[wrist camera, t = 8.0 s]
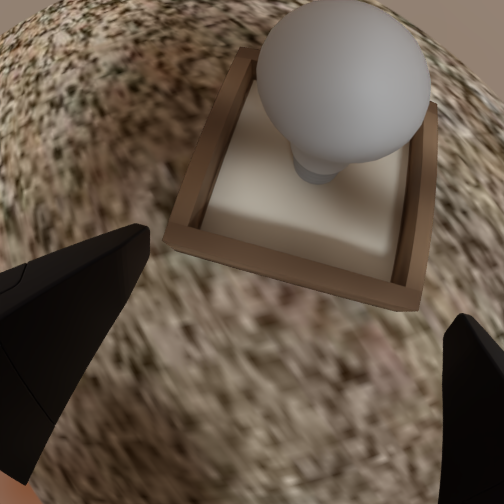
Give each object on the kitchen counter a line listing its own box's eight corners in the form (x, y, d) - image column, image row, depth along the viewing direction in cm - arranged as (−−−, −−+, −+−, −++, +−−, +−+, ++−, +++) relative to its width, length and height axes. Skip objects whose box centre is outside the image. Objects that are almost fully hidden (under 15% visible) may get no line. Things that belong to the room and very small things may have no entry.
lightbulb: (269, 229, 17) (277, 104, 6) (252, 130, 18) (240, -30, 7) (377, 214, 17) (493, 105, 6) (350, 120, 18) (408, -22, 7)
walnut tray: (396, 311, 17) (418, 311, 14) (176, 251, 18) (161, 240, 15) (420, 124, 19) (437, 103, 16) (242, 73, 20) (240, 46, 17)
